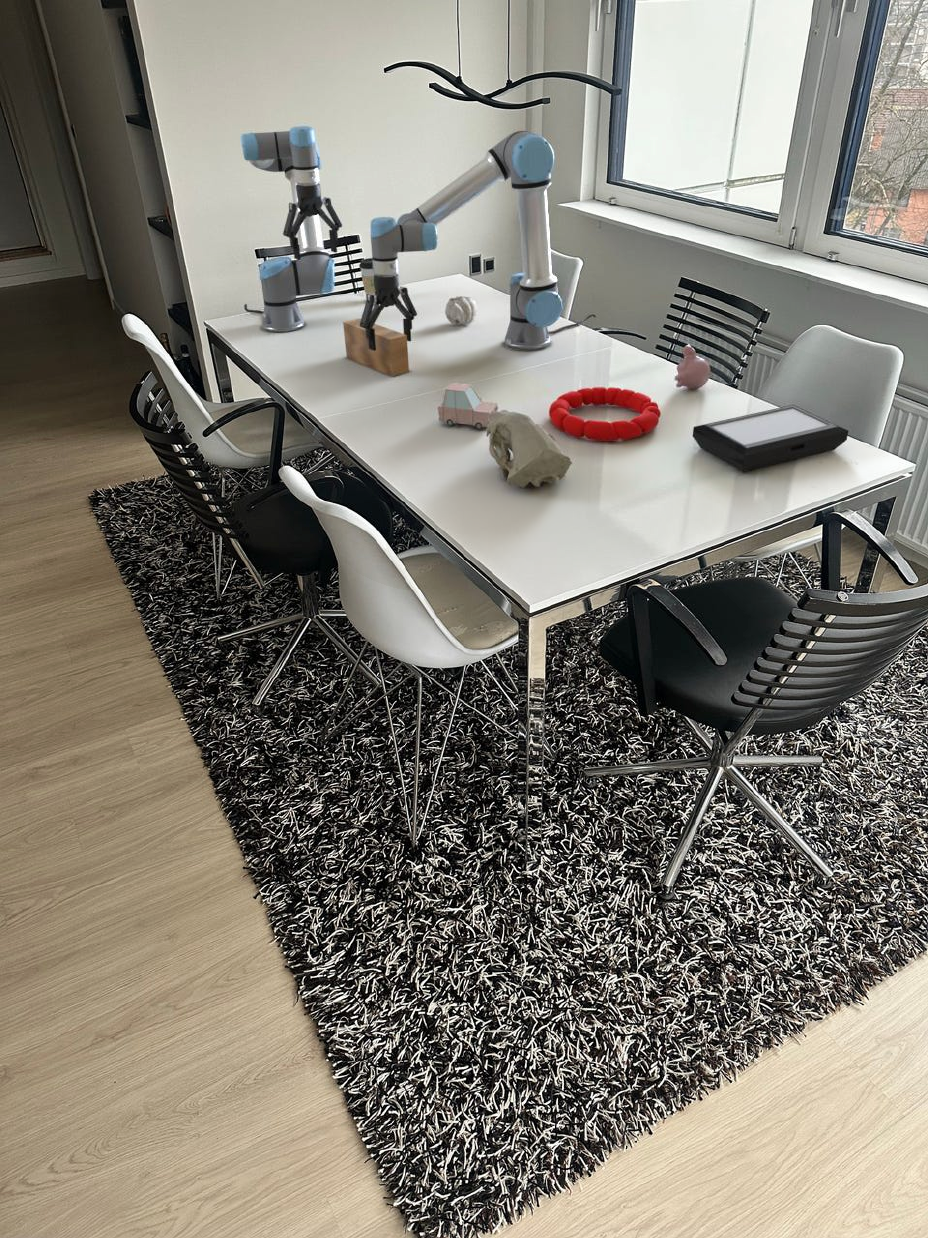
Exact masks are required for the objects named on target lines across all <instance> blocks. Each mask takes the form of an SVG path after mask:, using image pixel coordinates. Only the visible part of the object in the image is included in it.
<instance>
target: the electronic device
mask: <svg viewBox="0 0 928 1238" xmlns="http://www.w3.org/2000/svg"><path fill="white" fill-rule="evenodd" d="M849 432H850V431H849V430H848V429H847V428H844V427H841V426H839V425H838V424H836V423H834V422H831V421H829V420H827V419H825V418H822V417H821V416H819V415H816V414H814V413H812V412H810V411H808V410H806V409H804V408H802V407H799V406H797V405H795V404H790V405H786V406H781V407H778V408H771V409H768V410H763V411H759V412H755V413H749V414H745V415H741V416H736V417H731V418H727V419H722V420H718V421H714V422H709V423H704V424H700V425H696V426H693V428H692V437H693V439H694V440H695V442H696V443H697V445H698V447H699V448H700V449H702V450H704V451H705V452H707V453H709V454H710V455H712V456H714V457H715V458H718V459H720V461H723V462H724V463H726V464H728V465H730V466H732V467H734V468H735V469H736V470H738V471H739V472H741V473H745V472H747V471H752V470H756V469H760V468H764V467H765V468H766V467H769V466H772V465H778V464H781V463H784V462H789V461H794V460H798V459H801V458H805V457H809V456H814V455H817V454H822V453H825V452H830V451H834V450H836V449H837V448H839V447H840V446H841V445H843V444H844V443H845V442H846V441H847V440H848V435H849Z"/></svg>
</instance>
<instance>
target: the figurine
mask: <svg viewBox="0 0 928 1238" xmlns="http://www.w3.org/2000/svg"><path fill="white" fill-rule="evenodd" d="M682 354H683V358H684V359H683V361H682V362H679V363H678V364H677V365H676V372H677V375H675V376H674V381H675V382H676V381H677V382H676V384H675V386H676V388H681V387H686V388H688V389H693V390H694V389H695V390H696V389H700V388H703V387H704V386H705V385H706V384H707V383H708V382H709V379H710V377H711V367H710V364H709V362H708V361H706V359H704V358H702V357H700V356H697V353H696V350H695V349H694V347H692V345H690V344H686V345H685V346H684V347H683V348H682Z"/></svg>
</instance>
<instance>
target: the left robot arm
mask: <svg viewBox="0 0 928 1238" xmlns="http://www.w3.org/2000/svg"><path fill="white" fill-rule="evenodd" d="M240 142H241V148H242V154H243V155H242V156H243V159H244V160H245V161H247V162H248V161H249V164H251V165H252V166H253V167H255V168H257V169H258V170H262V171H266V172H271V173H284V176H285V178H286V179H287V180H288V181H289V182H290V189H291V196H292V202H289V203H288V213H287V217H286V219H285V220H286V222H285V224H284V228H283V233H282V235H283V236H284V237H287V238H288V239H289V246H290V248H291V249H292V251H293V258H294V259H295V260H292V258H291V257H290V256H277V257H272V258H270V259H267V260H264V261H263V262H261V263H260V265H259V266H258V270H259V280H260V285H261V286H260V287H261V292H262V299H263V310H257V309H248V304H247V303H245V304H244V305H243V307H244V308H243V309H244V310H245V312H246V313H252V314H261V315H262V319H261V326H262V330H264V331H265V332H271V333H286V332H293V331H296V330H297V331H298V330H300V329H302V328H304V326H305V319H304V317H303V314H302V312H301V310H300V307H299V306H298V305H299V304H298V303H297V297H299V296H301V297H302V296H312V295H323V294H330V293H332V292H333V291H334V290H335V259H334V258H333V257H330V252H332V253H335V254H336V253H338V245H337V241H338V240H339V235H338V231H339V230H340V229H341V228H343V223H342V222H341V220H340V218H339V216H338V214H337V212H336V210H335V209H334V207H333V205H332V204H333V203H332V200H331V198H330V197H327V196H324V197H323V198H322V189H321V184H320V183H319V182H320V172H319V170H321V169H322V161H321V156H320V152H319V148H318V147H319V146H318V144H317V139H316V135H315V130H314V128H313V127H312V126H307V125H300V126H293V127H291V128H290V129H289V130H285V131H269V132H248V133H243V134H241V136H240ZM323 206H324V207H325V209H326V211H327V212H328V215H329V216H330V217H329V216H328V215H327V214H326V212H325V211H324V210H323V209H322V207H323ZM321 219H322V220H323V222H324V223H325V224H326V225H327V226H328V227H329V228H330V229H328V234H329V244H330V252H329V251H328V250H326V249H325V246H324V237H323V232H322V224H321Z"/></svg>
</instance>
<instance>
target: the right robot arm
mask: <svg viewBox="0 0 928 1238" xmlns="http://www.w3.org/2000/svg"><path fill="white" fill-rule="evenodd" d="M554 164H555V154H554V150H553V148H552V145H551V144H550V143H549V141H548V140H546V138H544V137H543V136H541V135H540V134H537V133H532V132H530V131H528V130H516V131H513V132H512V133H510V134H509V135H507V136H506V137H504V138H503V139H502V140H500V141H499V142H498V143H497V144H495V145H494V146H492V148H490V149H488V150H487V151H486V153H485V156H484V158H482V159H481V160H480V161H478V162H477V163H475V164H474V165H473V166H472V167H470V168H469V169H468V170H467V171H465V172H464V173H461V175H459V176H458V177H457V178H455V179H454V180H453V181H451V182H450V183H449V184H447V185H446V186H445V187H442V189H441V190H439V191H438V192H437V193H435V194H433V195H432V196H431V197H430V198H428V199H427V200H426V201H425V202H423V203H422V204H420V205H419V206H418V207H416V208H415V209H414V210H411V212H408V213H402V214H401V215H400V216H399V217H398V219H397V221H396V219H395V218H394V217H391V216H380V217H379V216H378V217H374V218H372V220H371V221H370V245H371V258H372V260H373V273H374V274H375V275H374V287H375V290H376V291H375V294H367V295H366V294H365V305H364V308H363V311H362V315H361V318H360V319H361V321H360V327H362V328H365V329H366V338H367V339H368V342H369V349H371V350H373V351H375V350H376V342H375V329H373V328H372V327H373V326H374V324H376V322H377V320H378V318H379V317H380V314H381V312H382V311H384V309H385V308H389V307H393V306H395V308H396V309H397V310H399V312H400V313H401V314H402V315H403V316H404V318H403V319H402V324H403V325H402V327H403V334H405V335H407V342H412V331H411V330H412V329H413V321H414V320H415V317H417V316H418V312H417V310H416V308H415V306H414V304H413V302H412V299H411V298H410V295H409V290H408V288H407V287H405V286H400V276H399V274H398V273H399V260H398V259H399V258H398V255H399V254H398V253H414V252H427V251H434V250H436V249H437V247H438V239H439V238H438V230H437V226H439V225H440V224H442V223H443V222H444V221H445V220H447V219H449V218H450V217H451V216H453V215H454V214H455V213H457V212H458V211H459V210H460V209H462V208H464V207H465V206H466V205H468V204H469V203H471V202H472V201H473V200H474V199H476V198H478V197H479V196H480V195H482V194H483V193H484V192H486V191H487V190H488V189H490V188H491V187H492V186H494V185H495V184H497V183H498V182H502V183H504V182H506V181H507V180H508V179H510V183H511V184H510V185H511V189H512V190H513V191H514V192H515V193H516V195H517V206H518V217H519V219H518V220H519V230H520V231H519V232H520V242H521V244H520V245H521V257H522V268H523V272H517V273H513V274H512V275H511V276H510V280H509V296H510V297H509V315H510V316H509V323H508V327H507V330H506V334H505V335H504V337H505V338H504V345H505V347H506V348H509V349H511V350H515V351H538V350H543V349H546V348H547V347H549V346H550V344H551V337H550V334H551V335H552V334H555V333H558V332H561V331H562V330H566V329H568V328H572V327H577V326H579V325H581V324H583V323H584V322H585V321H587V320H588V319H590V318H591V317H593V318H597V315H596V314H595V313H591V314H589V315H587V316H586V317H584V318H582V319H581V320H580V321H579V322H576V323H572V324H568V325H564V326H562V327H559V328H557V329H554V330H548V327H550V326H552V325H553V324H555V323H556V322H557V321H558V320H559V319H560V317H561V315H562V313H563V306H564V305H563V301H562V298H561V296H560V295H559V291H558V279H557V276H555V275H554V274H553V272H552V255H551V241H550V226H549V211H548V193H547V190H548V188H549V187H550V186H551V185H552V175H551V173H552V171H553V169H554ZM399 297H401V299H402V301H401V300H400V299H399ZM375 299H376V300H375ZM375 301H376V302H375ZM374 302H375V303H374ZM402 302H403V303H404V304H403V303H402Z"/></svg>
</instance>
